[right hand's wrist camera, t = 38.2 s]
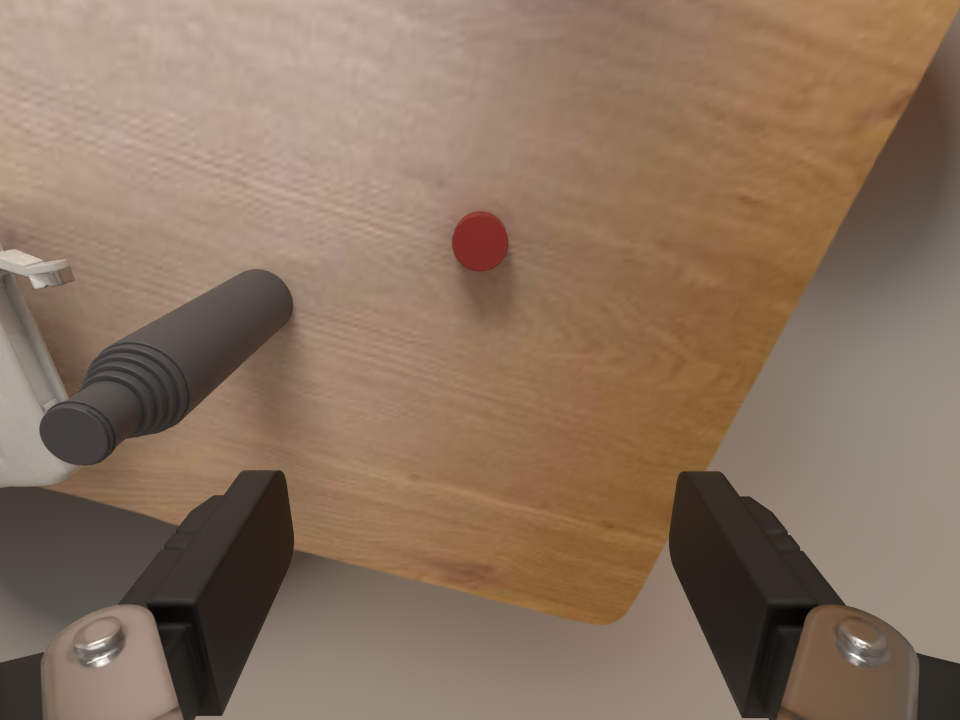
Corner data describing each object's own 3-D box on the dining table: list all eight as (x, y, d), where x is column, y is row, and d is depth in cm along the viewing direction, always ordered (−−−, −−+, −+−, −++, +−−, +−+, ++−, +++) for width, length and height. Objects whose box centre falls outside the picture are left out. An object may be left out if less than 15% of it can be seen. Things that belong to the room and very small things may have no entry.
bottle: (269, 343, 46) (98, 507, 25) (216, 303, 44) (-10, 441, 24) (305, 298, 44) (155, 432, 24) (251, 255, 43) (45, 358, 23)
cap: (516, 244, 43) (518, 249, 41) (474, 275, 44) (474, 282, 42) (486, 200, 42) (486, 203, 40) (442, 232, 42) (440, 237, 40)
